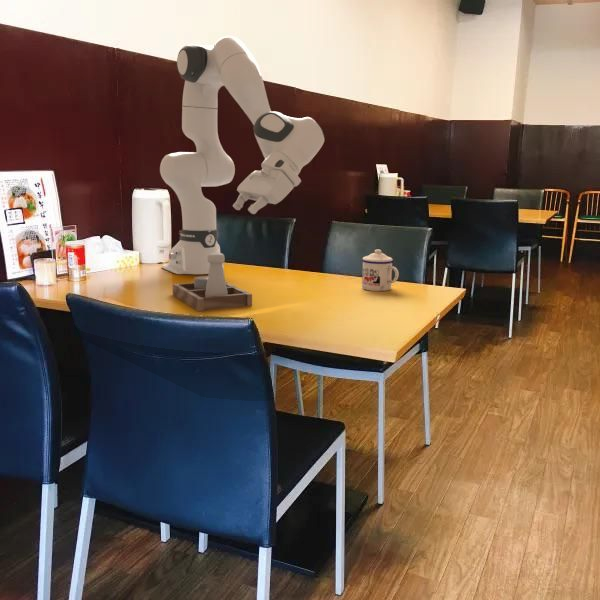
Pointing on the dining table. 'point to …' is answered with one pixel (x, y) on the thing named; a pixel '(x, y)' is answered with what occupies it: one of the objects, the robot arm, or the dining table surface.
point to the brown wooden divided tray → (212, 297)
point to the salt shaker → (216, 276)
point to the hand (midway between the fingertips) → (242, 210)
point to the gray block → (200, 282)
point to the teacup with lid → (378, 272)
